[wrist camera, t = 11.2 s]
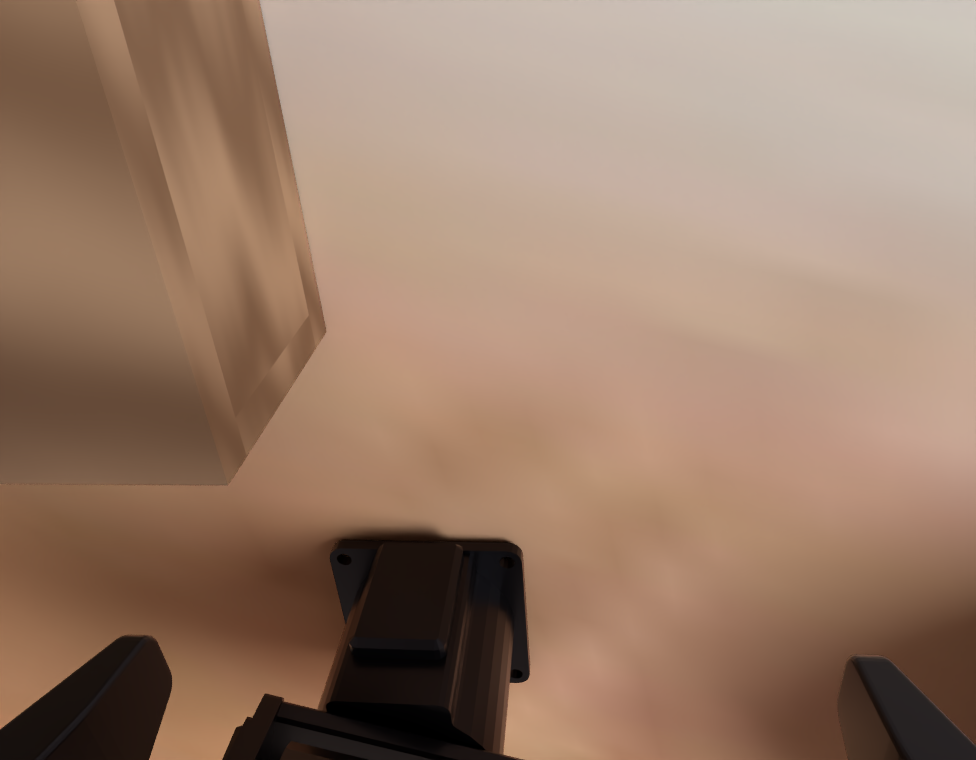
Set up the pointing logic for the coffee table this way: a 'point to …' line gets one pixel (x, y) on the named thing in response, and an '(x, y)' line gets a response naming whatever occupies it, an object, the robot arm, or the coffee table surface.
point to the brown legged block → (144, 242)
